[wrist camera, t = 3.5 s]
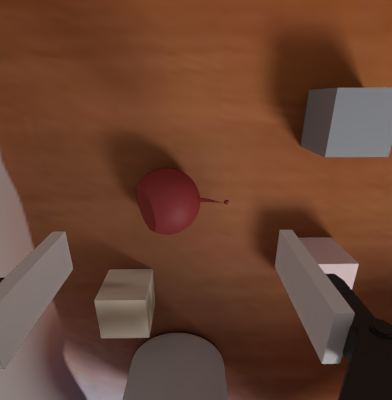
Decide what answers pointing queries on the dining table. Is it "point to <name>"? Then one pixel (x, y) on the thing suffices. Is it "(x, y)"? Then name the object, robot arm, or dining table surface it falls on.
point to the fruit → (169, 200)
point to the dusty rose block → (332, 258)
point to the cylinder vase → (176, 370)
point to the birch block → (126, 303)
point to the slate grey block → (348, 122)
